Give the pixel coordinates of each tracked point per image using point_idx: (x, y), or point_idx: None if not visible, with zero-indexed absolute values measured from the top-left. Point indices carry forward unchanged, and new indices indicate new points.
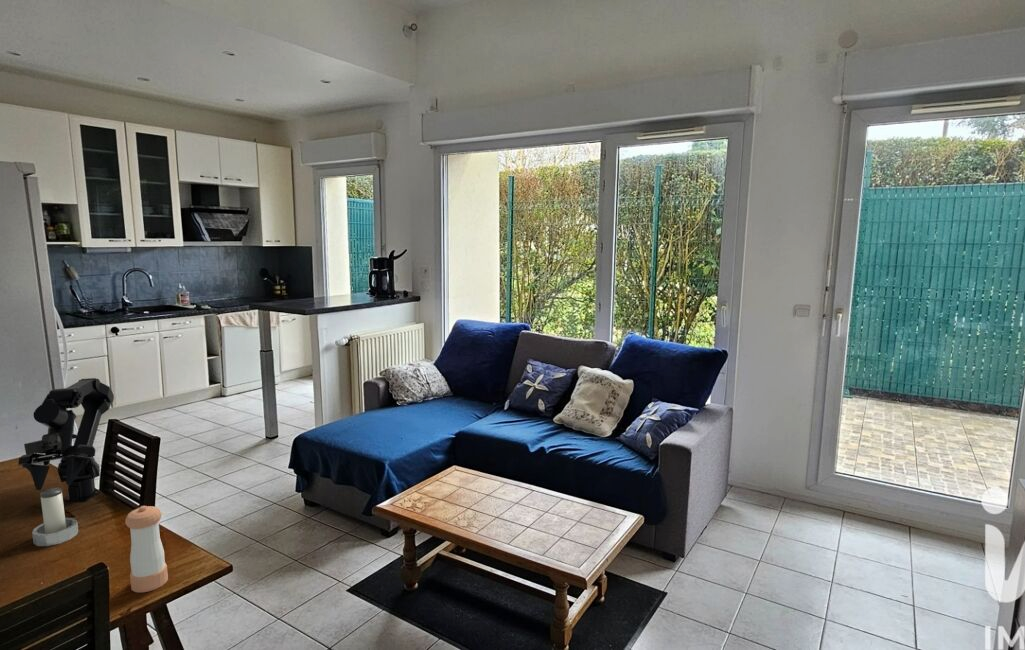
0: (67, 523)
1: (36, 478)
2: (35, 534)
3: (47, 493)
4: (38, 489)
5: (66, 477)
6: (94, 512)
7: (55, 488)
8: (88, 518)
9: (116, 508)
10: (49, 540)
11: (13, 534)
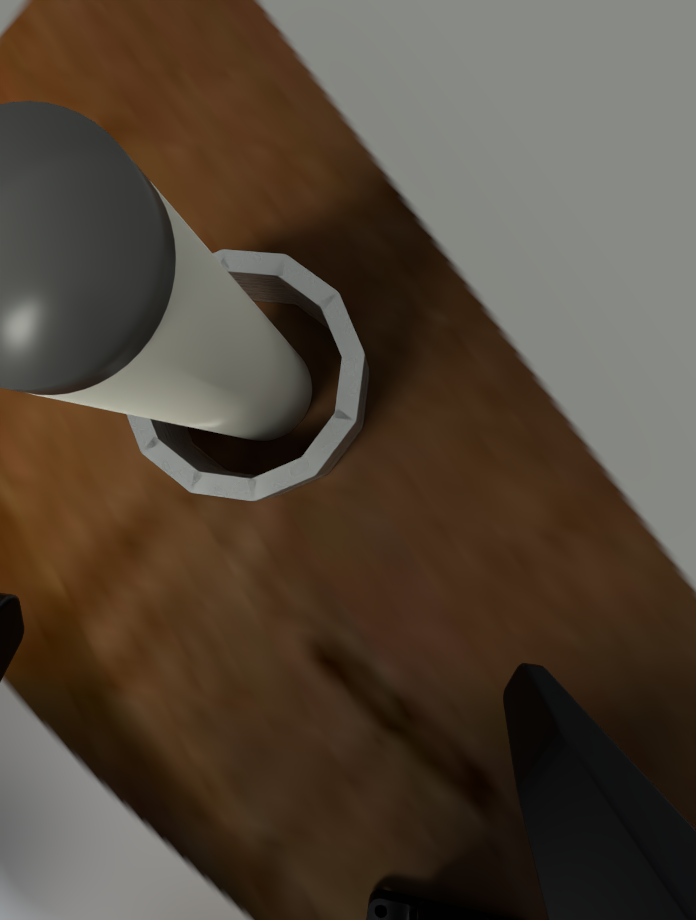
0: (230, 473)
1: (640, 851)
2: (299, 268)
3: (19, 164)
4: (517, 675)
5: None
6: (218, 697)
7: (4, 347)
8: (209, 614)
9: (111, 737)
10: None
11: (554, 442)
